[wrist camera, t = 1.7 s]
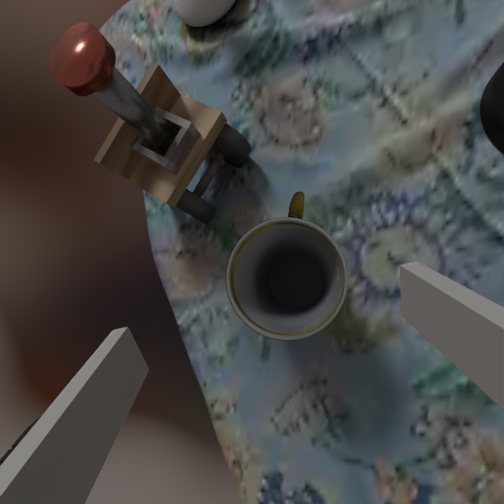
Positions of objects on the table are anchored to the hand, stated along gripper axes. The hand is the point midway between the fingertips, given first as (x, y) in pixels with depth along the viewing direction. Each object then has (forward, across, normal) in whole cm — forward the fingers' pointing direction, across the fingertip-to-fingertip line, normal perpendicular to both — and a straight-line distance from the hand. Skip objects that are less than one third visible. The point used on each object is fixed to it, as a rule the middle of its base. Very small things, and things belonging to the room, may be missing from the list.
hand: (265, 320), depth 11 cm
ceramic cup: (+17, +4, -6) cm, 18 cm away
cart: (+26, -5, +7) cm, 28 cm away
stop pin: (+21, -7, +12) cm, 25 cm away
